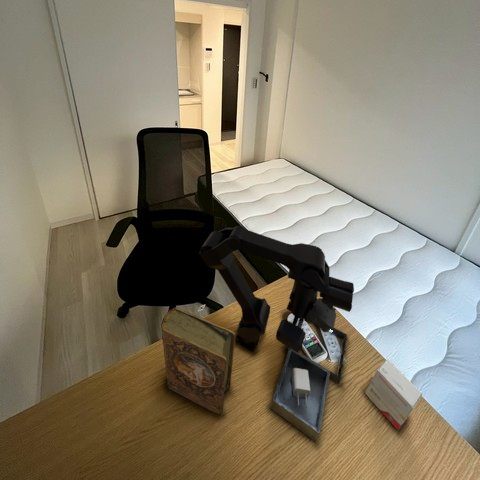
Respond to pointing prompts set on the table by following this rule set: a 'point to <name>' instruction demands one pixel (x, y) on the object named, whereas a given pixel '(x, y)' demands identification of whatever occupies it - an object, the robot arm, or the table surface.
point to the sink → (288, 403)
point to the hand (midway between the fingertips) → (293, 329)
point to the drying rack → (340, 366)
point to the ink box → (393, 393)
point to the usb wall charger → (300, 383)
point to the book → (197, 358)
